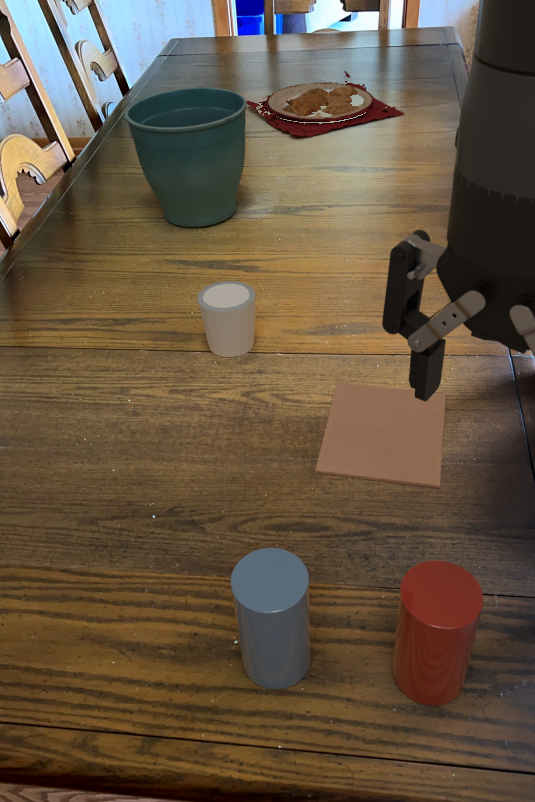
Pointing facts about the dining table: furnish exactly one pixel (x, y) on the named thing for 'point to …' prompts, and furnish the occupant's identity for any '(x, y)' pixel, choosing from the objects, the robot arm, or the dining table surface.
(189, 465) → the dining table surface
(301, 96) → the plate with food
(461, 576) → the glossy red cylinder
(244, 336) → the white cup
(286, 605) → the grey upright cylinder
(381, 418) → the terracotta mat
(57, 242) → the dining table surface
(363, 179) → the dining table surface
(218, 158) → the flower pot
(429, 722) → the dining table surface
